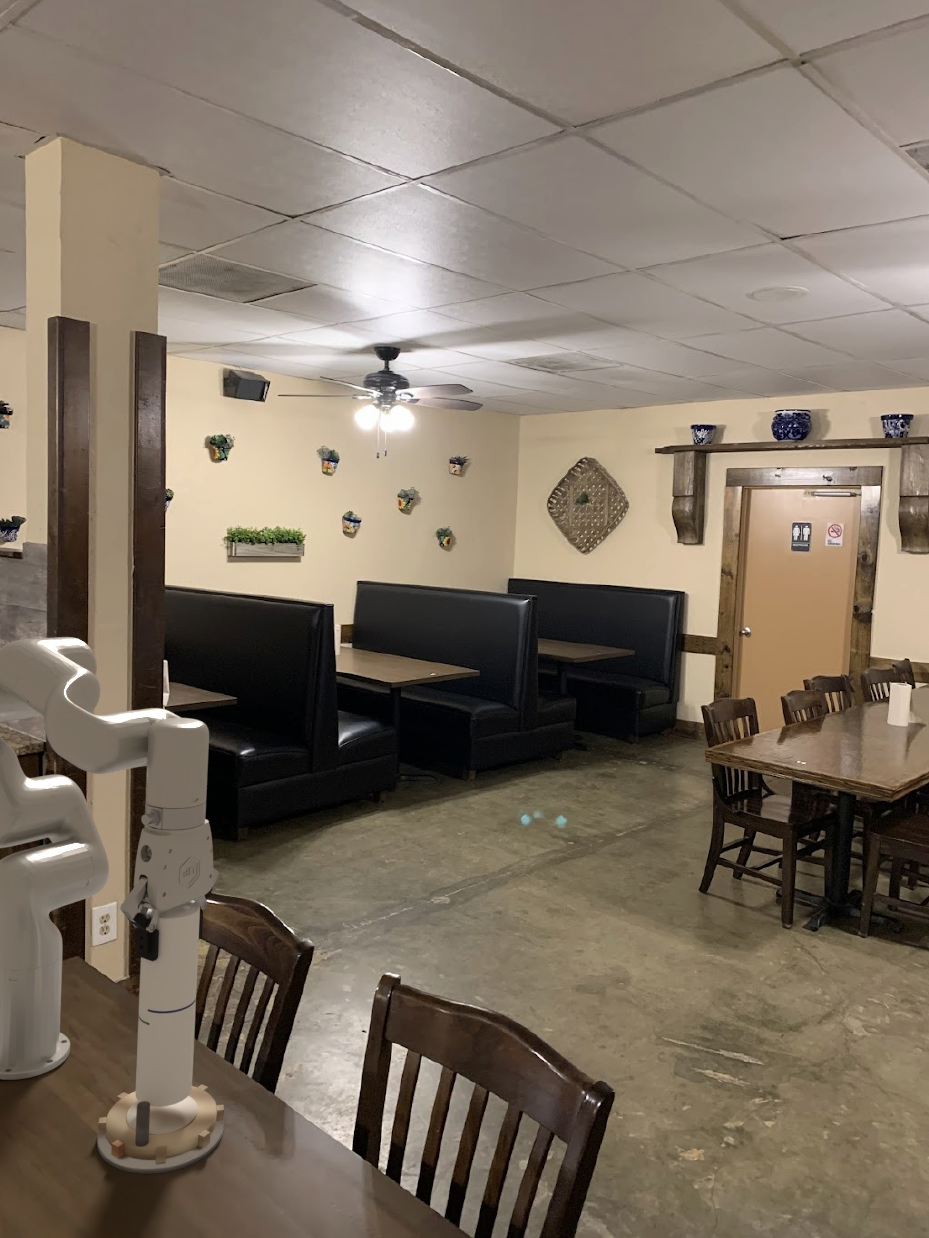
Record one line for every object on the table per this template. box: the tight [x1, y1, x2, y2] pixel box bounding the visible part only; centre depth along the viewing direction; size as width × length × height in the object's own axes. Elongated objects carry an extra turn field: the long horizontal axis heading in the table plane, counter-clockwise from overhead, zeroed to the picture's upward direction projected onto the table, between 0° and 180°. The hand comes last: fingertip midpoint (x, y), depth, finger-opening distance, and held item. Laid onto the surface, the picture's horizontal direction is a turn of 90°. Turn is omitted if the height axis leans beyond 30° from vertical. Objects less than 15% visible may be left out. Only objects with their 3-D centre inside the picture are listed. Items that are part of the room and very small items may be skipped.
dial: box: [97, 1083, 225, 1163], centre depth 125 cm, size 15×15×6 cm
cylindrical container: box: [135, 900, 200, 1107], centre depth 124 cm, size 7×7×25 cm
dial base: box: [96, 1118, 225, 1175], centre depth 126 cm, size 16×16×1 cm
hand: (169, 946), depth 124 cm, fingers closed on cylindrical container, 7 cm apart
